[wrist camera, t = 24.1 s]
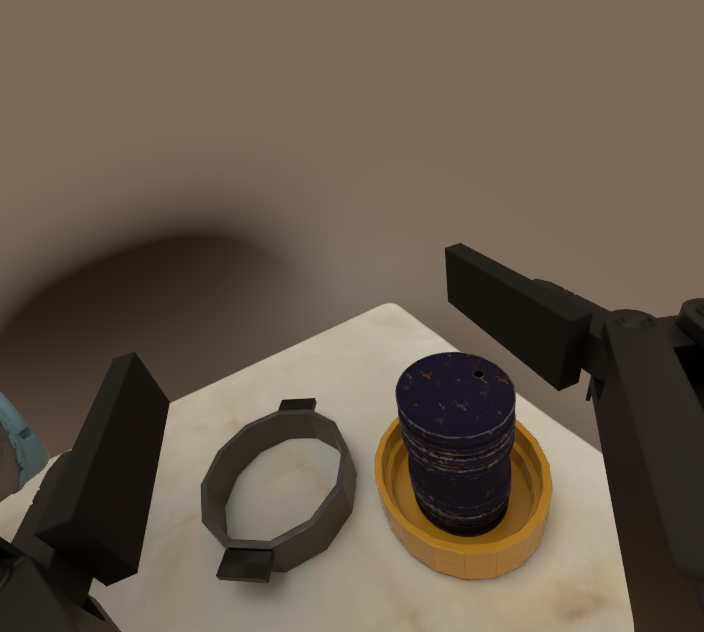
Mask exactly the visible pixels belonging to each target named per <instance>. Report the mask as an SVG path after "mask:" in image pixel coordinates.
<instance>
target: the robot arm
mask: <svg viewBox="0 0 704 632" xmlns="http://www.w3.org/2000/svg"><path fill="white" fill-rule="evenodd" d="M445 257H446V275H447V292H448V302H449V303H451V304H452V305H454V307H456V308H457V309H458V310H459V311H461V312H462V313H463V314H464V315H466V316H467V317H468V318H469V319H470V320H472V321H473V322H474V323H475V324H477V325H478V326H479V327H480V328H481V329H483V330H484V331H485V332H486V333H488V334H489V335H490V336H491V337H492V338H494V339H495V340H496V341H497V342H499V343H500V344H501V345H503V346H504V347H505V348H506V349H507V350H509V351H510V352H511V353H512V354H513V355H515V356H516V357H517V358H518V359H520V360H521V361H522V362H523V363H525V364H526V365H527V366H528V367H530V368H531V369H532V370H533V371H535V372H536V373H537V374H538V375H539V376H540V377H542V378H543V379H544V380H545V381H547V382H548V383H549V384H550V385H552V386H553V387H554V388H555V389H557V390H558V391H560V390H562V389H565V388H567V387H569V386H572V385H574V384H576V383H578V382H579V377H580V372H581V368H582V369H583V370H585V371H586V372H588V373H589V374H591V378H590V383H589V387H588V392H587V395H586V401H590V398H591V396H592V399H593V404H594V409H595V415H596V420H597V426H598V431H599V436H600V442H601V447H602V453H603V458H604V464H605V469H606V475H607V480H608V485H609V491H610V496H611V501H612V507H613V512H614V518H615V523H616V528H617V534H618V539H619V545H620V550H621V555H622V561H623V566H624V572H625V577H626V582H627V588H628V593H629V598H630V604H631V609H632V615H633V621H634V632H704V298H696V299H691V300H687V301H686V302H684V303H683V304H682V307H681V310H680V313H679V315H676V316H668V317H661V318H655V317H654V316H652V315H650V314H648V313H645V312H641V311H638V310H629V309H623V310H615V311H612V312H610V311H608V310H606V309H604V308H602V307H600V306H598V305H596V304H594V303H592V302H590V301H588V300H586V299H584V298H582V297H580V296H578V295H574V293H572V292H570V291H568V290H564V288H562V287H560V286H558V285H556V284H554V283H552V282H549V281H544V280H540V279H534V280H530V279H528V278H527V277H525V276H523V275H521V274H519V273H517V272H515V271H513V270H511V269H509V268H507V267H505V266H503V265H502V264H500V263H498V262H496V261H494V260H492V259H490V258H488V257H486V256H484V255H483V254H481V253H479V252H476V251H475V250H473V249H471V248H469V247H467V246H465V245H463V244H462V243H459V244H456V245H453V246H450V247H447V248H445ZM169 404H170V402H169V400H168V399H167V397H166V396H165V395H164V393H163V392H162V390H161V389H160V387H159V386H158V384H157V383H156V381H155V380H154V379H153V377H152V376H151V374H150V373H149V371H148V370H147V368H146V367H145V366H144V364H143V363H142V361H141V360H140V359H139V357H138V356H137V354H136V353H135V352H132V353H129V354H126V355H123V356H120V357H117V358H114V359H113V361H112V363H111V366H110V368H109V370H108V372H107V374H106V377H105V379H104V381H103V383H102V385H101V387H100V390H99V392H98V394H97V396H96V398H95V400H94V403H93V405H92V407H91V409H90V412H89V414H88V416H87V418H86V420H85V422H84V425H83V427H82V429H81V431H80V433H79V435H78V438H77V440H76V442H75V444H74V446H73V448H72V450H71V451H68V452H65V453H62V454H61V456H60V457H59V458H58V459H57V460H56V461H55V463H54V464H53V465H52V466H51V467H50V469H49V470H48V471H47V473H46V475H45V477H44V479H43V481H42V483H41V485H40V487H39V488H40V490H38V491H37V493H36V495H35V497H34V499H33V501H32V502H33V504H32V505H30V507H29V509H28V511H27V513H26V515H25V517H24V519H23V521H22V523H21V525H20V527H19V529H18V531H17V533H16V535H15V537H14V539H13V541H12V543H11V544H10V543H9V542H7V541H6V540H4V539H3V538H1V537H0V632H121V631H120V630H119V628H118V627H117V626H116V624H115V623H114V622H113V621H112V619H111V618H110V617H109V615H108V614H107V613H106V612H105V610H104V609H103V608H102V606H101V605H100V604H99V603H98V601H97V600H96V599H95V598H93V597H92V596H90V595H89V594H88V593H89V590H90V586H91V583H92V579H93V577H94V578H95V579H97V580H98V581H100V582H101V583H103V584H104V585H105V586H109V585H111V584H114V583H116V582H118V581H121V580H123V579H125V578H127V577H130V576H132V575H134V574H137V572H138V567H139V562H140V557H141V551H142V546H143V541H144V536H145V530H146V525H147V520H148V514H149V509H150V504H151V499H152V493H153V488H154V483H155V478H156V472H157V467H158V462H159V456H160V451H161V446H162V441H163V435H164V430H165V425H166V419H167V414H168V409H169ZM48 461H49V453H48V450H47V449H46V447H45V446H44V444H43V443H42V441H41V440H40V439H39V437H38V436H37V435H36V433H35V432H34V431H33V430H32V429H31V428H29V425H28V424H27V423H26V421H25V420H24V418H23V417H22V416H21V415H20V413H19V412H18V411H17V410H16V409H15V407H14V406H13V405H12V404H11V403H10V402H9V401H8V400H7V398H6V397H5V396H4V395H3V394H2V393H1V392H0V502H1V501H3V500H4V499H6V498H7V497H8V496H10V495H11V494H15V493H17V492H18V491H20V490H21V489H22V488H23V487H24V485H25V484H26V483H27V482H28V481H29V480H31V479H32V478H33V477H34V476H36V475H37V474H38V473H40V472H41V471H42V470H43V469H44V468H45V467H46V465H47V464H48Z"/></svg>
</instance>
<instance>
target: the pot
mask: <svg viewBox="0 0 704 632" xmlns="http://www.w3.org/2000/svg"><path fill="white" fill-rule="evenodd" d="M316 403H317V402H316V400H315V398H308V399H289V400H282V402H281V404H280V407H279V410H278V411H276V412H274V413H272V414H269V415H267V416H265V417H263V418H260V419H258V420H256V421H254V422H252V423H249V424H247V425H245V426H244V427H243V428H242V429H241V430H240V431H239V432H238V433H237V434H236V435H235V436H234V437H233V438H232V439H230V440H229V441H228V442H227V443H226V444H225V445H224V446H223V447H222V448H221V449H220V450H219V451H218V452H217V454H216V456H215V458H214V460H213V462H212V464H211V466H210V468H209V470H208V472H207V474H206V476H205V478H204V480H203V482H202V484H201V508H202V522H203V524H204V525H205V526H206V527H207V528H208V530H209V531H210V532H211V533H212V534H213V535H214V537H215V538H216V539H217V540H218V541H219V542H220V544H221V545H222V546H223V547H224V548H225V549H226V550H225V553H224V556H223V558H222V561H221V564H220V566H219V569H218V572H217V574H216V576H217V578H218V579H219V580H228V581H243V582H257V583H268V581H269V578H270V574H271V571H273V572H287V571H289V570H291V569H292V568H294V567H296V566H298V565H300V564H301V563H303V562H305V561H307V560H308V559H310V558H312V557H314V556H316V555H317V554H319V553H321V552H323V551H324V550H326V549H327V548H328V547H329V545H330V544H331V542H332V541H333V539H334V538H335V536H336V535H337V533H338V532H339V530H340V529H341V527H342V526H343V524H344V523H345V522H346V520H347V519H348V517H349V516H350V514H351V513H352V509H353V501H354V492H355V484H356V475H357V474H356V471H355V468H354V465H353V462H352V459H351V456H350V453H349V450H348V447H347V445H346V443H345V441H344V439H343V437H342V435H341V433H340V431H339V429H338V427H337V425H336V423H335V422H334V421H332V420H330V419H328V418H326V417H324V416H322V415H320V414H318V413H316V412H314V410H315V406H316ZM289 438H318V439H320V440H322V441H324V442H325V443H327V444H329V445H331V446H333V447H334V448H336V449H338V450H339V451H340V453H341V459H340V465H339V471H338V477H337V483H336V485H335V487H334V488H333V489H332V491H331V492H330V493H329V495H328V496H327V497H326V499H325V500H324V501H323V503H322V504H321V505H320V507H319V508H318V510H317V511H316V512H315V514H314V515H313V516H312V518H311V519H310V520H308V521H306V522H304V523H303V524H301V525H299V526H297V527H295V528H293V529H291V530H290V531H288V532H286V533H284V534H282V535H280V536H278V537H277V538H275V539H273V540H271V541H257V540H232V539H230V538H229V537H228V536H227V529H226V518H225V505H226V503H227V500H228V498H229V495H230V493H231V491H232V488H233V486H234V483H235V481H236V479H237V476H238V475H239V474H240V473H241V472H242V471H243V470H244V469H245V468H246V467H247V466H248V465H249V464H250V463H251V461H252V460H253V459H254V458H255V457H256V456H257V455H258V454H259V453H260V452H261V451H264V450H266V449H268V448H270V447H272V446H274V445H276V444H278V443H280V442H283V441H285V440H287V439H289Z"/></svg>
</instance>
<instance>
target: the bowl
mask: <svg viewBox="0 0 704 632" xmlns="http://www.w3.org/2000/svg"><path fill="white" fill-rule="evenodd" d="M408 453H409V452H408V450H407V448H406V446H405V444H404V442H403V439H402V435H401V428H400V423H399V418H397V419H395V420H394V421H393V422H392V424H391V425H390V427H389V428H388V429H387V431H386V432H385V434H384V435H383V436H382V438H381V440H380V444H379V447H378V450H377V453H376V457H375V474H376V484H377V487H378V491H379V494H380V498H381V501H382V504H383V508H384V510H385V513H386V516H387V518H388V521H389V523H390V526H391V529H392V531H393V532H394V534H395V535H396V536H397V537H398V539H399V540H400V541H401V542H402V544H403V545H404V546H405V547H406V549H407V550H408V551H409V553H411V554H412V555H413V556H415V557H416V558H418V559H419V560H421V561H422V562H424V563H425V564H426V565H428V566H429V567H431V568H432V569H434V570H436V571H439V572H442V573H446V574H449V575H452V576H456V577H459V578H463V579H481V578H495V577H499V576H501V575H503V574H505V573H507V572H509V571H511V570H513V569H515V568H517V567H520V566H522V564H524V562H525V561H526V560H527V559H528V558H529V557H530V555H531V554H532V553H533V552H534V551H535V549H536V548H537V547H538V546H539V544H540V542H541V539H542V535H543V532H544V528H545V525H546V521H547V517H548V512H549V507H550V501H551V496H552V482H551V474H550V465H549V463H548V461H547V459H546V457H545V455H544V453H543V451H542V449H541V447H540V445H539V443H538V441H537V440H536V439H535V438H534V437H533V436H532V435H531V434H530V432H529V431H528V430H527V429H526V428H525V427H524V426H523V425H522V424H521V423H520V422H519V421H517V420H516V422H515V439H514V444H513V448H512V450H511V453H510V455H509V457H510V461H511V491H510V495H509V503H508V508H507V512H506V514H505V516H504V518H503V520H502V521H501V522H500V524H499V525H498V526H497V527H496V528H494V529H493V530H491V531H490V532H488V533H486V534H483V535H480V536H475V537H460V536H455V535H451V534H448V533H446V532H444V531H442V530H440V529H439V528H437V527H436V526H434V525H433V524H432V523H431V522H430V521H428V520H427V518H426V517H425V516H424V515H423V513H422V512H421V510H420V508H419V506H418V504H417V502H416V498H415V494H414V490H413V488H412V484H411V480H410V475H409V470H408Z"/></svg>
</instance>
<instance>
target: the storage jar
mask: <svg viewBox="0 0 704 632" xmlns="http://www.w3.org/2000/svg"><path fill="white" fill-rule="evenodd" d="M396 401H397V406H398V418H399V423H400V428H401V435H402V439H403V442H404V444H405V446H406V448H407V450H408V452H409V453H408V470H409V475H410V480H411V484H412V488H413V490H414V494H415V498H416V502H417V504H418V506H419V508H420V510H421V512H422V513H423V515H424V516H425V517H426V518H427V520H428V521H430V522H431V523H432V524H433V525H434V526H436V527H437V528H439V529H440V530H442V531H444V532H446V533H448V534H451V535H455V536H460V537H475V536H480V535H483V534H486V533H488V532H490V531H491V530H493V529H494V528H496V527H497V526H498V525H499V524H500V522H501V521H502V520H503V518H504V516H505V514H506V512H507V508H508V503H509V495H510V491H511V461H510V457H509V455H510V453H511V450H512V448H513V444H514V439H515V422H516V415H515V403H516V392H515V387H514V385H513V383H512V381H511V379H510V378H509V376H508V375H507V373H505V372H504V370H503V369H502V368H500V367H499V366H498V365H496V364H495V363H493V362H491V361H489V360H488V359H485V358H483V357H480V356H477V355H474V354H469V353H462V352H445V353H438V354H433V355H430V356H427V357H424V358H422V359H420V360H418V361H416V362H415V363H413V364H412V365H410V366H409V367H408V368H407V369H406V370H405V371H404V372H403V373H402V375H401V376H400V378H399V380H398V383H397V385H396Z"/></svg>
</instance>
